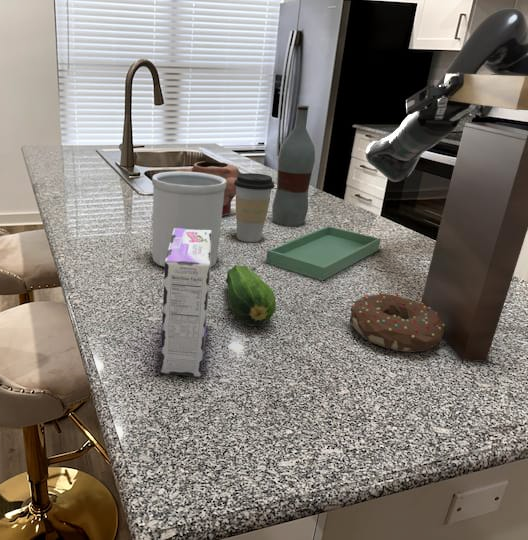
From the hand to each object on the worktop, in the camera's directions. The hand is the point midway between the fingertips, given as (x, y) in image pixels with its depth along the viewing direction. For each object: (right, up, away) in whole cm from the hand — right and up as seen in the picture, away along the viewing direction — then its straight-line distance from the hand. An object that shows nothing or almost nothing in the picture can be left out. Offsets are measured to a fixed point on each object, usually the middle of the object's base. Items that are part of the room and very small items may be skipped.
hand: (478, 79), depth 78 cm
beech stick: (0, -5, -3) cm, 6 cm away
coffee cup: (-28, -21, +46) cm, 58 cm away
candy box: (-45, -41, -3) cm, 61 cm away
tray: (-12, -26, +36) cm, 46 cm away
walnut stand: (-2, -39, +4) cm, 40 cm away
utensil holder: (-44, -27, +31) cm, 60 cm away
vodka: (-15, -16, +61) cm, 64 cm away
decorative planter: (-36, -13, +66) cm, 77 cm away
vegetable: (-34, -35, +11) cm, 50 cm away
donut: (-12, -40, +3) cm, 41 cm away
